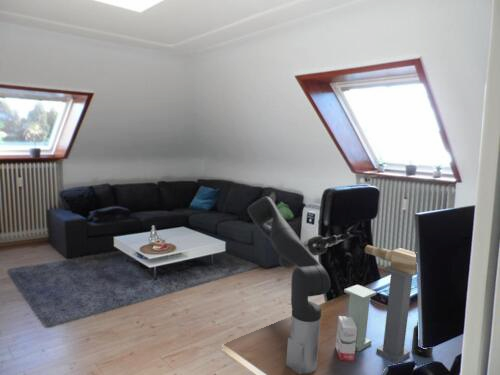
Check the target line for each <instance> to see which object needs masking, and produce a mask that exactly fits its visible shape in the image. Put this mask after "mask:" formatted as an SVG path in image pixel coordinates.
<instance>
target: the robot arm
mask: <svg viewBox="0 0 500 375" xmlns="http://www.w3.org/2000/svg"><path fill="white" fill-rule="evenodd" d="M247 213H248V215H249V216H250V218H251V220H252V221H253V223H254V224H255V225H256V226H257V228H258V229H259V230H260V231H261V232H262V233H263V235H264V236H265V237H266V238H267V239H268V241H269V242H270V244H271V245H272V247H273V248H274V250H275V251H276V252H277V254H278V255H279V258H278V263H279V264H280V266H281V267H283V268H288V269H289V268H294V267H295V266H297V267H296V268H294V269H293V271H292V274H291V283H290V284H291V287H290V289H291V291H290V296H291V298H290V303H291V304H290V305H291V320H290V336H289V337H288V338H287V345H286V346H287V347H286V349H287V350H286V360H285V366H286V367H288V368H290V369H291V370H293V371H294V372H295V373H297V374H298V375H302V374H311V373H314V372H315V371H316V370H317V367H318V357H319V356H318V355H319V345H320V344H319V343H320V334H321V333H320V331H321V320H322V308H321V307H320V305H318V304H316V303H315V302H312V301H310V300H308V299H309V297H316V296H320V295H321V296H322V295H324V294H327V293H328V292H329V291H330V289H331V278H330V275H329V273H328V271H327V270H326V269H325V267H324V266H323V265H322V264H321V263H320V262H319V261H318V259H317V258H316V257H317V256H319V255H322V254H325V253H326V252H327V250H328V248H330V247H332V246H334V245H337V244H339V243H341V242H344V241H346V240H348V239H350V238H351V234H350V232H345V233H342V234H339V235H336V234H335V235H332V236H326V237H324V236H322V235H316V236H314V237H311V238H308V239H306V240H304V241H303V242H302V240H301V239H300V237H299V236H298V235H297V233H296V232H295V231H294V229H293V228H292V227H291V225H290V224H289V223H288V222H287V220H286V219H285V218H284V216H283V214H282V212H280V210H279V209H278V207H277V205H276V203H275V202H274V200H273V199H272V198H271V197H269V196H267V195H266V196H263V197H261V198H259V199H257V200H256V201H255V202H253V203H251V204H250V205H249V206H248V207H247ZM270 220H272V223H271V225H269V224H266V223H267V222H268V221H270Z"/></svg>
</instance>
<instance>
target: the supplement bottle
mask: <svg viewBox="0 0 500 375" xmlns="http://www.w3.org/2000/svg"><path fill="white" fill-rule="evenodd" d="M412 332H413V333H412V342H411V351H412V353H414V355H416V356H417V357H421V358H431V357H432V356H433V352H434V347H433V348H427V349H423V348H421V347H419V346H418V321H417V323H416V325H415V326H414V327H413V330H412Z"/></svg>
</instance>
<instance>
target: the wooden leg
mask: <svg viewBox="0 0 500 375" xmlns="http://www.w3.org/2000/svg"><path fill="white" fill-rule="evenodd" d="M364 252H365V253H366V254H368V255H371V256H375V257H377V258H379V259H380V260H383V261H386V262H389V263H390V265H389V266H390V267H391V268H394V269H397V270H400V271H403V272H406V273H409V274H412V275H413V276H415V275H417V274H416V273H417V264H416V254H415V251H411V250H408V249H405V248H401V247H399V248H395V249H392V250H390V249H388V248H380V247H377V246H373V245H370V244H367V245H366V246H365V248H364ZM414 274H415V275H414Z"/></svg>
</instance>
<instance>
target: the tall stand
mask: <svg viewBox="0 0 500 375" xmlns="http://www.w3.org/2000/svg"><path fill="white" fill-rule="evenodd" d="M390 266H391V265H388V266H385V269H384V270H385V271H387V272H389V273H390V282H389V288H388V289H389V290H388V300H387V307H386V317H385V325H384V326H385V327H384V336H383V343H382V344H381V345H380V346H378V347H376V353H377V354H379V355H381V356H383V357H384V358H386V359H387V360H391V361H393V362H394V363H396V364H399V363H400V362H402V361H403V360H405V359H406V358H408V357H409V356H410V355H411V351H410V350H408V349H406V348H405V345H406V344H405V343H406V335H407V334H406V333H407V326H408V318H409V311H410V310H409V308H410V302H411V301H410V300H411V291H412V284H413V283H412V282H413V276H415V275H417V273H416V274H414V275H412V274H409V273H406V272H403V271H400V270H397V269H394V268H391V267H390Z"/></svg>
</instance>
